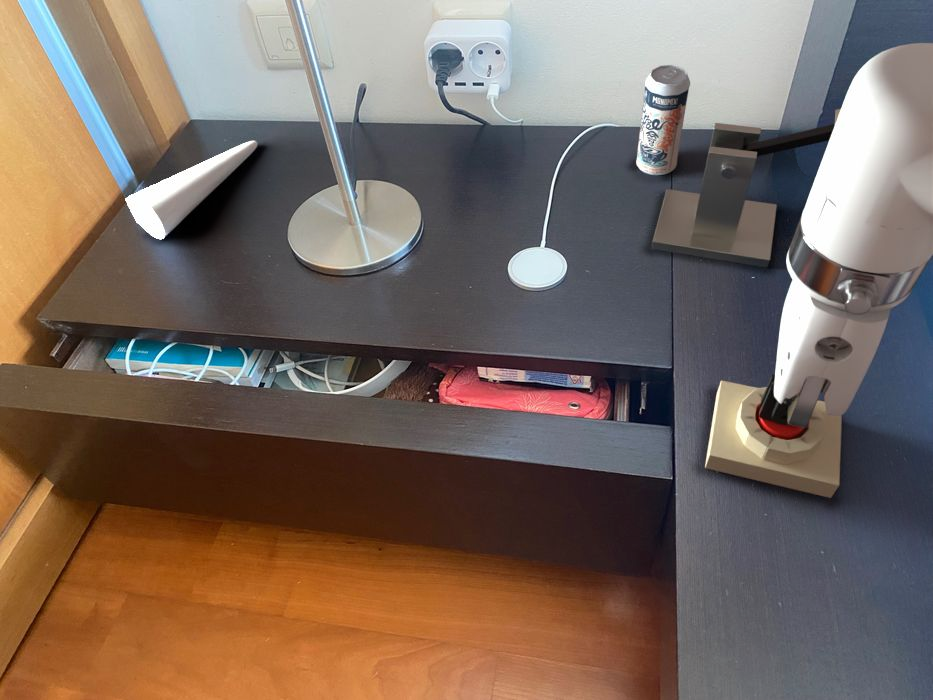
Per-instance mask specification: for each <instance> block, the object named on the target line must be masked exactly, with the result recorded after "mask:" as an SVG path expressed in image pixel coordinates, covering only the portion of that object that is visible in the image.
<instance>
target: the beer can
mask: <svg viewBox="0 0 933 700" xmlns="http://www.w3.org/2000/svg"><path fill="white" fill-rule="evenodd" d="M690 87H691V80H690V77H689V75H688V72H687V71H686V70H685V69H684V68H683V67H681V66H677V65H673V64H667V65H666V64H664V65H659V66H657V67H655V68H653V69H652V70H651V71H650V73H649V74H648V76H647V78H646V79H645V82H644V93H643V102H642V109H641V110H642V111H641V119H640V128H639V136H638V146H637V153H636V161H635V162H636V163H635V164H636V166H637V167H638V169H639V170H640V171H642V172H643V173H644V174H647V175H651V176H660V175H661V176H662V175H663V176H664V175H667V174H669V173H671V172H672V171H674V170H675V169H676V167H677V165H678V156H679V150H680V146H681V145H680V144H681V140H682V139H681V138H682V133H683V132H682V131H683V125H684V121H685V114H686V108H687V102H688V98H689V97H688V96H689V90H690Z"/></svg>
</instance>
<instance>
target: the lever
mask: <svg viewBox="0 0 933 700" xmlns="http://www.w3.org/2000/svg"><path fill="white" fill-rule="evenodd" d="M840 110H841V108H838V109H835V115H834V123H832V124H827V125H823V126H819V127H816V128H815V127H814V128H811V129H807V130H802V131H798V132H794V133H790V134H785V135H780V136H777V137H772V138H769V139H764V140H758V142H755V143H751V144H747V143H746V139H745V136H740V137H736V138H732V139H728V140H723V141H719V142H716V143H715V147H720V148H728V149H737V150H745V151H753V152H757V157H761V156H767V155H770V154H775V153H779V152H784V151H788V150H793V149H798V148H801V147H806V146H810V145H816V144H819V143H824V142H829V140H830V137H831V135H832V132H833V129H834V127H835V124H836V121H837V118H838V116H839V113H840Z"/></svg>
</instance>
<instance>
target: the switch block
mask: <svg viewBox="0 0 933 700" xmlns="http://www.w3.org/2000/svg"><path fill="white" fill-rule="evenodd" d="M766 387H767V386H764V387H755V386H751V385H746V384H741V383H736V382H731V381H727V380H720V382H719V386H718V388H717V392H716V396H715V402H714V410H713V415H712V421H711V428H710V433H709V440H708V445H707V452H706V457H705V464H704V468H705V469H707V470H711V471H714V472H715V471H716V472H721V473H725V474H727V475H733V476H735V477H736V476H737V477H740V478H746V479H750V480H753V481H758V482H762V483H766V484H771V485H773V486H778V487H783V488H786V489H791V490H795V491H799V492H804V493H808V494H812V495H816V496H821V497H825V498H829V499H832V497H833V495H834V494H835V492H836V491H837V489H838V488H839V487H840V477H841V475H840V473H841V450H842V449H841V448H842V420H843V419H842V418H843V415H841V416H834V415H828V414H827V411H826V406H825V401H823V400H819V399H818V400H817V403H816V405H815V408H814V410H813V413H812V415H811V418H810V420H809V422H808V425H807V427H806V428H804V429H803V431H802V433H801V435H800V437H799V438H796V439H791V440H784V439H779V438H774V437H772V436H770V435H769V434H768V433H766V432H765V431H763V430H762V429H761V428H760V426H759V424H758V422H757V421H756V418H757V416H758V414H759V411H760V409H761V406H760V405H761V399H762V397H763V394H764V392H765V390H766Z"/></svg>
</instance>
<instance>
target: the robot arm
mask: <svg viewBox="0 0 933 700" xmlns="http://www.w3.org/2000/svg"><path fill="white" fill-rule="evenodd" d="M840 109H841V110H840V113H839V116H838V118H837V121H836V124H835V123H834V124H835V127H834V129H833V132H832V135H831V137H830V140H829V141H828V143H827V146H826V149H825V151H824V153H823V157H822V159H821V161H820V165H819V167H818V170H817V173H816V176H815V177H814V181H813V183H812V186H811V189H810V192H809V194H808V197H807V200H806V203H805V205H804V208H803V210H802V213H801V216H800V219H799V221H798V224H797V226H796V229H795V232H794V235H793V237H792V240H791V243H790V245H789V249H788V251H787V253H786V261H785V262H786V263H785V264H786V269H787V271H788V273H789V275H790V278H791V279H792V280H791V283H790V285H789V288H788V290H787V293H786V297H785V300H784V303H783V307H782V311H781V312H782V313H781V317H780V324H779V332H778V333H779V334H778V343H777V350H776V351H777V352H776V359H775V360H776V362H775V371H774V372H775V373H774V374H771V375H770V378H769V380H768V383H767V385H766V386H765V387H766V390H765V392H764V394H763V397H762V399H761V405H760V406H761V409H760V414H759V417H760V418H761V419H765V420H769V421H773V422H775V423H777V424H782V425H792V426H799V427H803V428H806V427H807V425H808V422H809V420H810V418H811V415H812V413H813V410H814V408H815V405H816V403H817V400H819V398H820V395H821V394H824V395H823V400H824V402H825V406H826V411H827V414H828V415H834V416H841V415H842V416H843V415H844V414H846V412H847V411H848V410H849V408H850V407H851V405H852V402H853V400H854V399H855V396H856V394H857V393H858V390H859V389H860V386H861V385H862V382H863V381H864V379H865V376H866V375H867V372H868V371H869V368H870V366H871V364H872V362H873V360H874V358H875V355H876V353H877V351H878V348H879V345H880V343H881V342H882V341H881V340H882V339H883V336H884V333H885V330H886V327H887V324H888V320H889V317H890V314H891V310H892V308H894V307H897V306H898V305H900V304H902V303H903V302H904V301H905V300H906V299H907V298H908V297H909V296H910V294H911V293H912V291H913V289H914V287H915V286H916V284H917V282H918V280H919V279H920V277H921V276H922V274H923V272H924V271H925V269H926V267H927V265H928V263H929V262H930V260H931V259H932V257H933V42H916V43H908V44H902V45H897V46H894V47H891V48H888V49H886V50H883V51H881V52H879V53H878V54H876V55H874V56H873V57H872V58H870V59H869V60H868V61H867V62H866V63H865V64H863V65H862V67H860V69H859V70H858V71H857V72H856V74H855V75H854V77H853V78H852V81H851V83H850V85H849V87H848V90H847V92H846V94H845V98H844V100H843V102H842V105H841V108H840Z"/></svg>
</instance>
